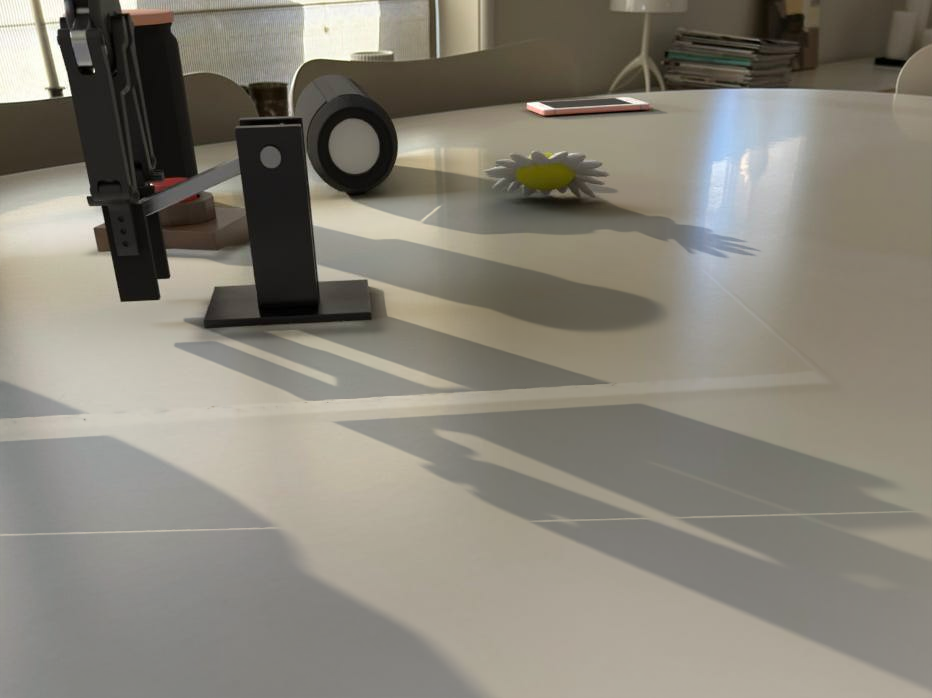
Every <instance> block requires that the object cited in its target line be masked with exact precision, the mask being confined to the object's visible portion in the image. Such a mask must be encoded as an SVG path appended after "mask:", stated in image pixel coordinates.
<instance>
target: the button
mask: <svg viewBox="0 0 932 698" xmlns="http://www.w3.org/2000/svg"><path fill="white" fill-rule="evenodd" d="M186 179H188V178H165V179H164V183H150V185H155V190H156V193H157V192H159V191H162V190H164V189H166V188H168V187H170V186H173V185H175V184H177V183H179V182H182V181H184V180H186ZM195 199H197V194H195V195H193V196H191V197H188V198H186V199H184V200H182V201H179V202H184V201H189V200H195Z"/></svg>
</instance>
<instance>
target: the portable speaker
mask: <svg viewBox="0 0 932 698" xmlns="http://www.w3.org/2000/svg"><path fill="white" fill-rule="evenodd" d="M294 116H302V119H303V129H304V139H305V149H306V156H307V157H308V160H309V162H310V164H311V166H312V168H313V171H315V172H316V174H317V175H318V177H319V178H320V179H321V180H322V181H323V182H324V183H326V184H327V185H328V186H329V187H330V188H332V189H334V190H337V191H338V192H342V193H345V194H346V195H363V194H366V193H367V192H370V191H372V190H375V189H376V188H378V187H379V186H380V185H381V184H383V183H384V182H385V181H386V180H387V179H388V177H389V176H390V174H391V173H392V172H393V169H394V167H395V165H396V162H397V157H398V153H399V152H398V151H399V139H398V133H397V130H396V127H395V125H394V123H393V120H392V118H391V117H390V115H389V113H387V111H386V109H384V108H383V107H382V106H381V105H380V104H379V103H378V102H377V101H375V100H374V98H372V96H371V95H369V94H368V92H366V91H365V90H364V88H363V87H362V86H361V85H360V84H359V83H357V82H356V81H355V80H353V79H352V78H350V77H348V76H344V75H342V74H336V73H330V74H323V75H320V76H318V77H316V78H315V79H313V80H311V81H310V82H308V83H307V85H305V87H304V88H303V89H302V91H301V93H300V94H299V96H298V98H297V101H296V105H295V109H294Z"/></svg>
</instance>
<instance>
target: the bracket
mask: <svg viewBox="0 0 932 698" xmlns="http://www.w3.org/2000/svg"><path fill="white" fill-rule="evenodd" d="M281 123H284V125H279V124H281ZM238 124H239V125H236V126H235V128H234V135H235V141H236V149H237V156H238V158H239V166H240V173H241V174H240V180H241V187H242V196H243V203H244V204H243V205H244V208H245V211H246V219H247V226H248V234H249V239H248V242H249V248H250V249H249V250H250V257H251V265H252V272H253V279H254V284H243V285H241V284H240V285H221V286H220V285H219V286H214V288H213V289H212V294H211V297H210V298H209V299H210V300H209V303H208V305H207V309H206V311H205V315H204V318H203V329H220V328H221V329H222V328H237V327H239V328H240V327H258V326H259V327H260V326H279V325H296V324H297V325H298V324H316V323H318V324H319V323H333V322H334V323H335V322H336V323H339V322H355V321H356V322H357V321H372V320H373V316H372V307H371V297H370V289H369V281H368V279H367V278H365V279H346V280H343V279H342V280H326V281H325V280H323V281H319V273H318V272H319V271H318V263H317V251H316V241H315V232H314V230H315V229H314V221H313V212H312V211H313V210H312V200H311V192H310V191H311V190H310V182H309V181H310V180H309V171H308V161H307V153H306V149H305V139H304V129H303V119H302V116H295V115H289V116H288V115H287V116H286V115H285V116H258V117H257V116H256V117H255V116H253V117H240V118H239V120H238Z"/></svg>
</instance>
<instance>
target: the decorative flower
mask: <svg viewBox="0 0 932 698" xmlns="http://www.w3.org/2000/svg"><path fill="white" fill-rule="evenodd" d="M509 157H510V158H499V159H497V160H495V164H496V165H495V167H491V168H490V167H489V168H487V169H485V170H484V171H483V172H484V173H486V174H485V176H487V177H488V178H495V179H499V180H498V181H496V182H495V183H494V184H493V185H492V187H491V190H499V189H501V188H504V187H506V186H508V185H509V186H508V188H507V190H506V193H507V194H510V193H513V192H515V191H516V190H518V189H519V188H521V187H522V190H521V195H522V196H523V197H525V198H526V197H529V196H531V195H532V194H534V193H535V192H536V191H540V193H541V195H543V196H548V195H550V194H551V193H552V191H555V190H557V191H558V192H559V193H560V194H565V193H566V192H567V191H568V189H569V190H570V192H571V193H572V194H573V195H574V196H575V197H576V198H578V199H581V198H582V192H583V193H584V194H585V195H587V196H589V197H590V198H593V199H596V193H595V191H594V190H593V188H592V187H591V186H590V185H589V184H592V185H598V186H603V185H606V183H605V182H604V181H602V180H601V179H599V178H606V177H608V176H610V173H608V172H607V171H605V170H602V169H600V167H602V166H603V164H604V163H603V162H602V161H599V160H593V159H586V158H587V156H586V154H585V153H581V152H570V153H569V152H568V151H566V150H564V151H559V152H556V153H552V152H542V151H541V150H532V152H531V153H530V155H525V154H523V153H519V152H511V153H510V155H509Z"/></svg>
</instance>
